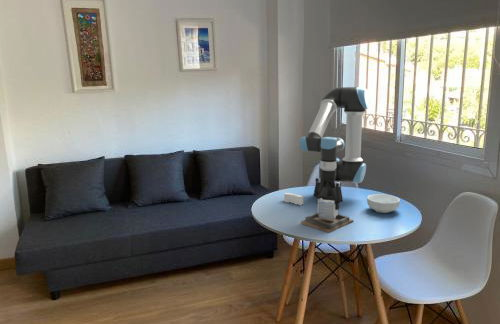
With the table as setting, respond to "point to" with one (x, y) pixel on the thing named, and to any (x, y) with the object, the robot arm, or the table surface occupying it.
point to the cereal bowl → (383, 203)
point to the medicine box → (326, 209)
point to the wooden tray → (326, 222)
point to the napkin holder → (293, 198)
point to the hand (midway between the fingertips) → (327, 213)
